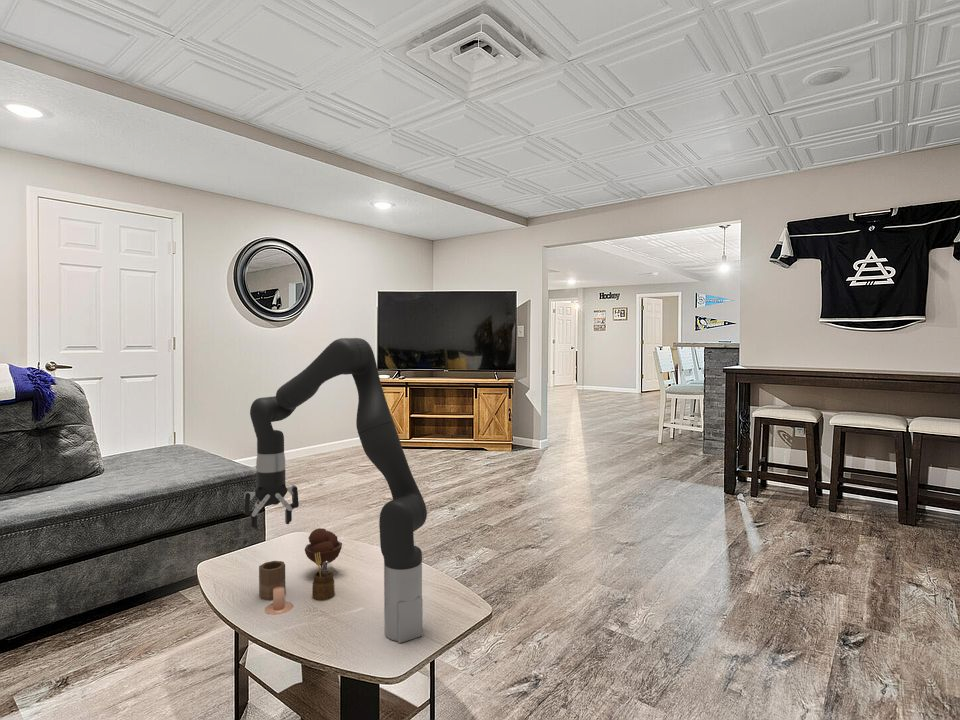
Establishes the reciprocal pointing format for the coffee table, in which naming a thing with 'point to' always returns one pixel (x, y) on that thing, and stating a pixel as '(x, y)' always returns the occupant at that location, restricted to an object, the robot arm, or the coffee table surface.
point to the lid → (278, 603)
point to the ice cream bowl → (323, 546)
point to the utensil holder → (323, 582)
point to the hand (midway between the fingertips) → (271, 526)
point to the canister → (271, 578)
